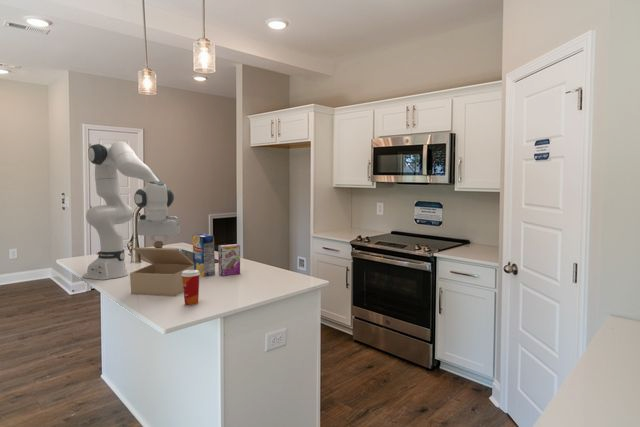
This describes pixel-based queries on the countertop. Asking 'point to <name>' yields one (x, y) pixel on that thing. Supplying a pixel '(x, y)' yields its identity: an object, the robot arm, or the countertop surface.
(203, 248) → the beverage box
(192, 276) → the paper cup
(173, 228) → the robot arm
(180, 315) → the countertop surface
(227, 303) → the countertop surface
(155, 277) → the carton
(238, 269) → the candy bar box
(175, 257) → the lid flap
